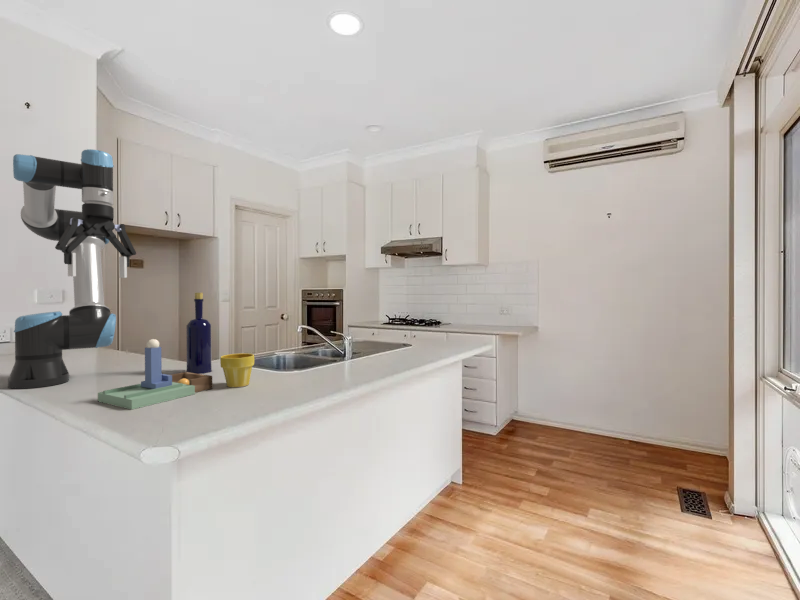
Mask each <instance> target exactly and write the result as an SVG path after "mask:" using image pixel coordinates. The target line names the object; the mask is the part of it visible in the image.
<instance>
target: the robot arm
mask: <svg viewBox="0 0 800 600" xmlns="http://www.w3.org/2000/svg"><path fill="white" fill-rule="evenodd" d="M80 157H81V158H80V163H78V162H69V161H66V160H65V161H63V160H58V159H51V158H46V157H41V156H35V155H31V154H30V155H29V154H18V153H17V154H14V155H13V158H12V162H13V163H12V166H13V168H12V169H13V170H12V172H13V178H14V179H15V180H16V181H19V182H22V183H23V184H22V185H23V186H22V187H23V190H22V191H23V203H24V204H23V205H22V208H21V209H20V219H21V222H22V223H23V224H24V226H25V227H26V228H27V229H28V230H30V231H31V232H32V233H33V234H35V235H37V236H39V237H42V238H43V239H46V240H50V241H55V242H56V245H55V247H54V248H55V250H58V251H61V253H63V263H64V265H67V277H72V281H73V299H74V301H73V302H74V307H72V308H71V309H70V310H69V313H68V315H66V314H65V315H63V313H62V311H60V310H58V311H49V312H38V313H33V314H25V315H22V316H18V317H17V318H16V319H15V322H14V330H13V333H14V347H15V348H14V365H13V367H12V370H11V372H10V374H9V377H8V379H7V387H8V388H10V389H35V388H42V387H43V388H44V387H49V386H55V385H60V384H65V383H67V382H69V381H70V373H69V371H68V368H67V366H66V363H65V362H64V361H65V360H64V359H63V351H65V350H78V349H79V350H80V349H83V350H84V349H98V348H105V347H109V346H111V345H112V344H113V341H114V337H115V331H116V324H117V314H115V313H111V309H110V307H108V306H107V305H105V294H104V279H103V265H102V253H101V252H102V250H103V249H104V248H105V247H106V245H108V244H109V243H111V245H112V246H113V247H114V249H116V251H117V252H118V253H119V254H120V256H119V257H118V265H119V267H118V268H119V271H118V273H119V275H118V277H119V278H120V279H122V278H123V279H124V278H125V279H126V278H128V268H129V267H130V257H132V256H136V255H137V251H136V250H135V249H136V248H135V247H134V245H133V243H132V241H131V239H130V237H129V236H128V233H127V232H126V226H125V224H124V223H120V224H115V222H114V217H115V216H114V212H115V211H114V207H113V205H114V168H115V166H114V162H113V156H112V155H111V154H110V153H109V152H106V151H103V150H98V149H88V148H86V149H83V150H82V151H81V156H80ZM56 187H63V188H70V189H77V190H81V203H83V204H81V211H77V210H76V211H75V210H68V209H59V208H55V205H56V204H55V203H56V190H57V189H56ZM114 230H115V231H116V233H117V234H115V233H114ZM117 235H118V237H119V238H117Z"/></svg>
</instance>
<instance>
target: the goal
mask: <svg viewBox="0 0 800 600" xmlns="http://www.w3.org/2000/svg"><path fill="white" fill-rule="evenodd" d="M171 375H172V382H175V383H178V381H179V380H180V379H183V378H186V379H188V380H189V385H193V386H195V393H200V392H203V391H207V390H212V389H213V375H209V374H204V373H203V374H196V373H189V372H187V371H184V372H179V373H178V372H177V373H174V374H171Z"/></svg>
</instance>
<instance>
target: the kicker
mask: <svg viewBox="0 0 800 600" xmlns="http://www.w3.org/2000/svg"><path fill="white" fill-rule="evenodd" d="M162 362H163V361H162V347H161V346H160V341H159V340H157V339H156V338H155V339H154V338H152V339H149V340H148V341H147V343H146V347H144V380H142V381H140V384H141V387H146V388H151V389H156V388H161V387H166V386H170V385H172V374H166V373H162V368H163V367H162V366H163V365H162Z"/></svg>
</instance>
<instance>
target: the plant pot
mask: <svg viewBox="0 0 800 600" xmlns="http://www.w3.org/2000/svg"><path fill="white" fill-rule="evenodd" d="M219 359H220V360H219V362H220V367H221V368H222V370H223V374H224V379H225V383H226V386H227V387H228V388H243V387H247V386H249V384H250V380H251V375H252V370H253V366H254V365H255V355H254V353H248V352H247V353H246V352H245V353H231V354H224V355H221V356H220V358H219Z"/></svg>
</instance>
